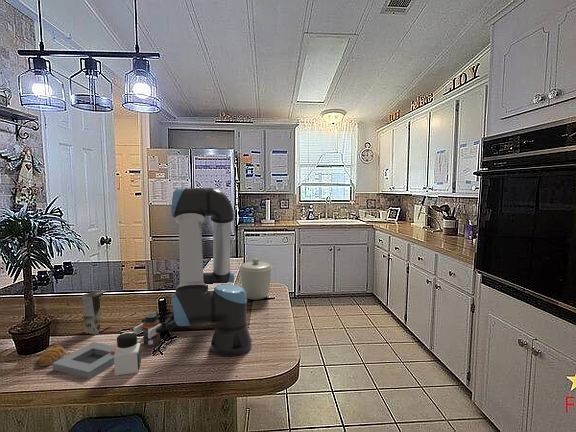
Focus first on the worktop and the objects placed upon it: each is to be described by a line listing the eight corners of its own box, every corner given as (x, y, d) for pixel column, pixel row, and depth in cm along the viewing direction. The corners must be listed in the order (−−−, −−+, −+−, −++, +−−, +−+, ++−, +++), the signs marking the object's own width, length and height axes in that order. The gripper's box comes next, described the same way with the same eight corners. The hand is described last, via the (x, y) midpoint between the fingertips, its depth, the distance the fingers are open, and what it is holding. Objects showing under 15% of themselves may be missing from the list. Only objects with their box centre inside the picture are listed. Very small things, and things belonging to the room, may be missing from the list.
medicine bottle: (138, 372, 114) (137, 337, 113) (114, 376, 112) (112, 340, 111) (141, 361, 121) (139, 328, 119) (118, 365, 119) (116, 331, 117)
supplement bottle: (154, 348, 130) (153, 319, 129) (140, 346, 132) (139, 317, 130) (163, 341, 136) (162, 313, 135) (149, 339, 137) (148, 311, 136)
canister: (272, 302, 179) (272, 262, 177) (237, 302, 179) (236, 262, 177) (273, 291, 197) (273, 254, 195) (241, 291, 197) (240, 254, 195)
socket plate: (128, 355, 125) (127, 346, 125) (89, 379, 110) (88, 369, 110) (94, 348, 130) (93, 339, 130) (53, 370, 115) (52, 360, 115)
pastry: (54, 367, 118) (53, 356, 117) (32, 369, 117) (31, 358, 116) (67, 353, 127) (66, 343, 126) (46, 355, 126) (45, 345, 125)
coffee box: (96, 335, 141) (94, 296, 140) (83, 333, 143) (81, 295, 141) (113, 326, 150) (111, 289, 148) (101, 324, 152) (99, 288, 150)
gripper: (199, 322, 147) (163, 346, 126) (162, 316, 154) (121, 338, 132) (199, 305, 147) (162, 326, 125) (162, 299, 153) (120, 319, 131)
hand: (141, 333), depth 128 cm, fingers closed on supplement bottle, 6 cm apart
